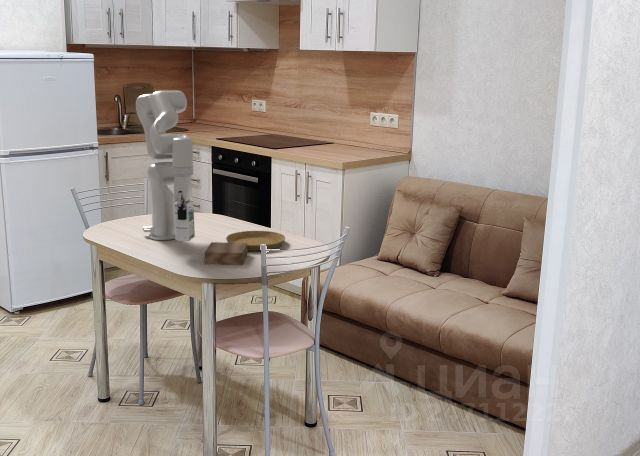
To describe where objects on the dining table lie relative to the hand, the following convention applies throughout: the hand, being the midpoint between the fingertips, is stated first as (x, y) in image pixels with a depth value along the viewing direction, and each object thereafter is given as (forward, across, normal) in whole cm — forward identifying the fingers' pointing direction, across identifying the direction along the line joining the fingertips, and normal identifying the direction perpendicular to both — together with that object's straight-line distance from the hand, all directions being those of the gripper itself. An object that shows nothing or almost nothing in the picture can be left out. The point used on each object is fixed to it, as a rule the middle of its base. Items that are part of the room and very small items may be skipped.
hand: (184, 216), depth 272 cm
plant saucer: (+16, -19, +25) cm, 35 cm away
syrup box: (+9, 0, 0) cm, 9 cm away
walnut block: (+16, +3, +17) cm, 23 cm away
